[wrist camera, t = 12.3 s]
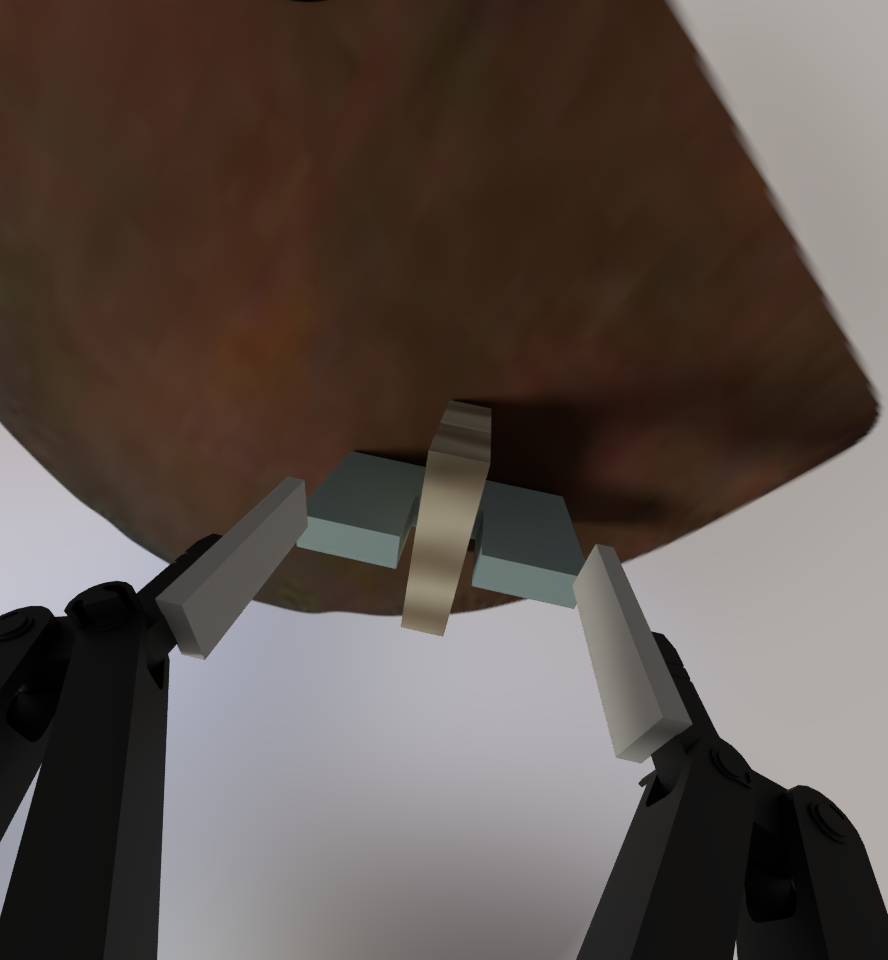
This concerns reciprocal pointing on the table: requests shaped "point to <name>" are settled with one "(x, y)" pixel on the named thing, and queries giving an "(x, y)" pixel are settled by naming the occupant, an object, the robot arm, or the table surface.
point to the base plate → (497, 532)
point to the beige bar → (447, 514)
